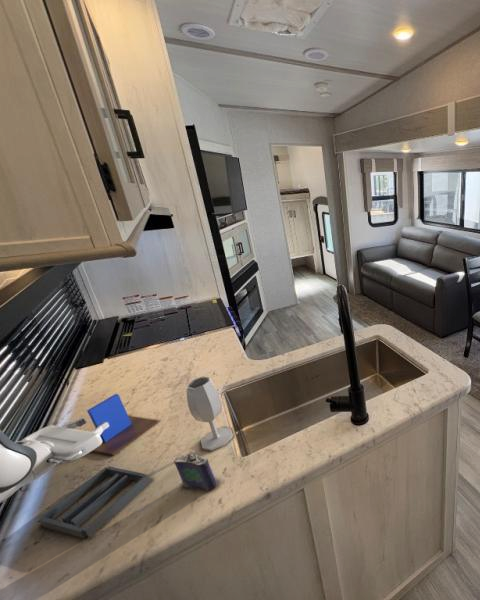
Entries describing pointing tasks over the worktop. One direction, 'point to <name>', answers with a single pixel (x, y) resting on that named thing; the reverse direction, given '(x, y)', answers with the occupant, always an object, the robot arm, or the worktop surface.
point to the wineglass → (207, 411)
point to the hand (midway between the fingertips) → (95, 421)
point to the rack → (94, 502)
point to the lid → (110, 416)
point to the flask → (195, 471)
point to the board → (125, 436)
